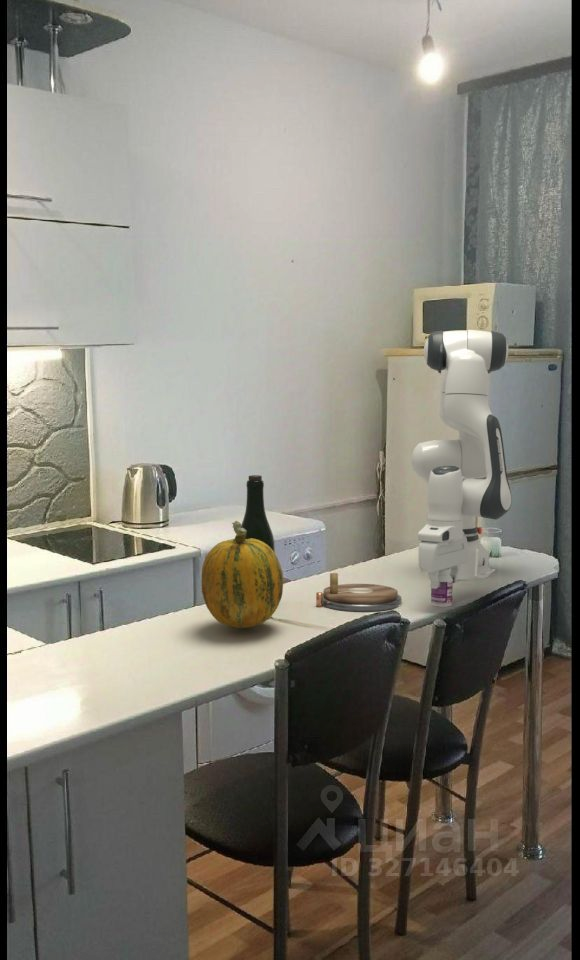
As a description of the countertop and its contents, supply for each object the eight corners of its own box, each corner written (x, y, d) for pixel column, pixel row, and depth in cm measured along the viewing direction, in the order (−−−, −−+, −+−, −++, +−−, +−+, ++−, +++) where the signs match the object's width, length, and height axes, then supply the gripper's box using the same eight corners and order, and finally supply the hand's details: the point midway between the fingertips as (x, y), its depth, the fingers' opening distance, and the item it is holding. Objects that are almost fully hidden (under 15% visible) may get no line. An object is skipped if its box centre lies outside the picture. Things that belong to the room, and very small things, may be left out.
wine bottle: (255, 611, 229) (255, 477, 226) (226, 604, 236) (225, 475, 233) (284, 604, 237) (284, 475, 234) (255, 598, 244) (254, 473, 241)
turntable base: (349, 591, 253) (349, 578, 253) (416, 601, 240) (416, 587, 240) (302, 604, 236) (302, 590, 236) (372, 616, 223) (372, 601, 223)
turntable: (311, 592, 243) (311, 568, 243) (375, 587, 250) (376, 563, 250) (343, 607, 226) (343, 580, 225) (411, 600, 233) (411, 575, 232)
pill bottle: (452, 608, 232) (452, 570, 231) (430, 607, 233) (430, 569, 232) (452, 603, 237) (453, 566, 236) (431, 602, 238) (432, 565, 237)
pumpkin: (226, 638, 202) (225, 524, 200) (187, 621, 218) (186, 515, 216) (298, 627, 212) (298, 518, 210) (256, 611, 228) (256, 510, 226)
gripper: (452, 526, 243) (451, 578, 244) (414, 534, 227) (413, 590, 228) (474, 527, 240) (473, 580, 241) (437, 536, 223) (436, 593, 224)
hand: (444, 585), depth 234 cm, fingers open, 8 cm apart
